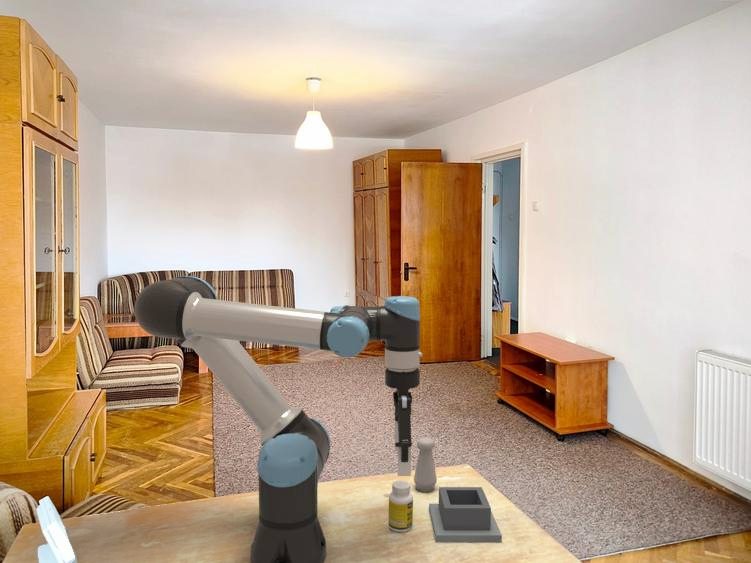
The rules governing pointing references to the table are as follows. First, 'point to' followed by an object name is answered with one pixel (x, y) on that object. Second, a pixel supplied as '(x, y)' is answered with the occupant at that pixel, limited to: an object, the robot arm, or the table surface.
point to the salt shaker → (425, 466)
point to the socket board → (463, 516)
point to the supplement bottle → (400, 507)
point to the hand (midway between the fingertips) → (402, 462)
